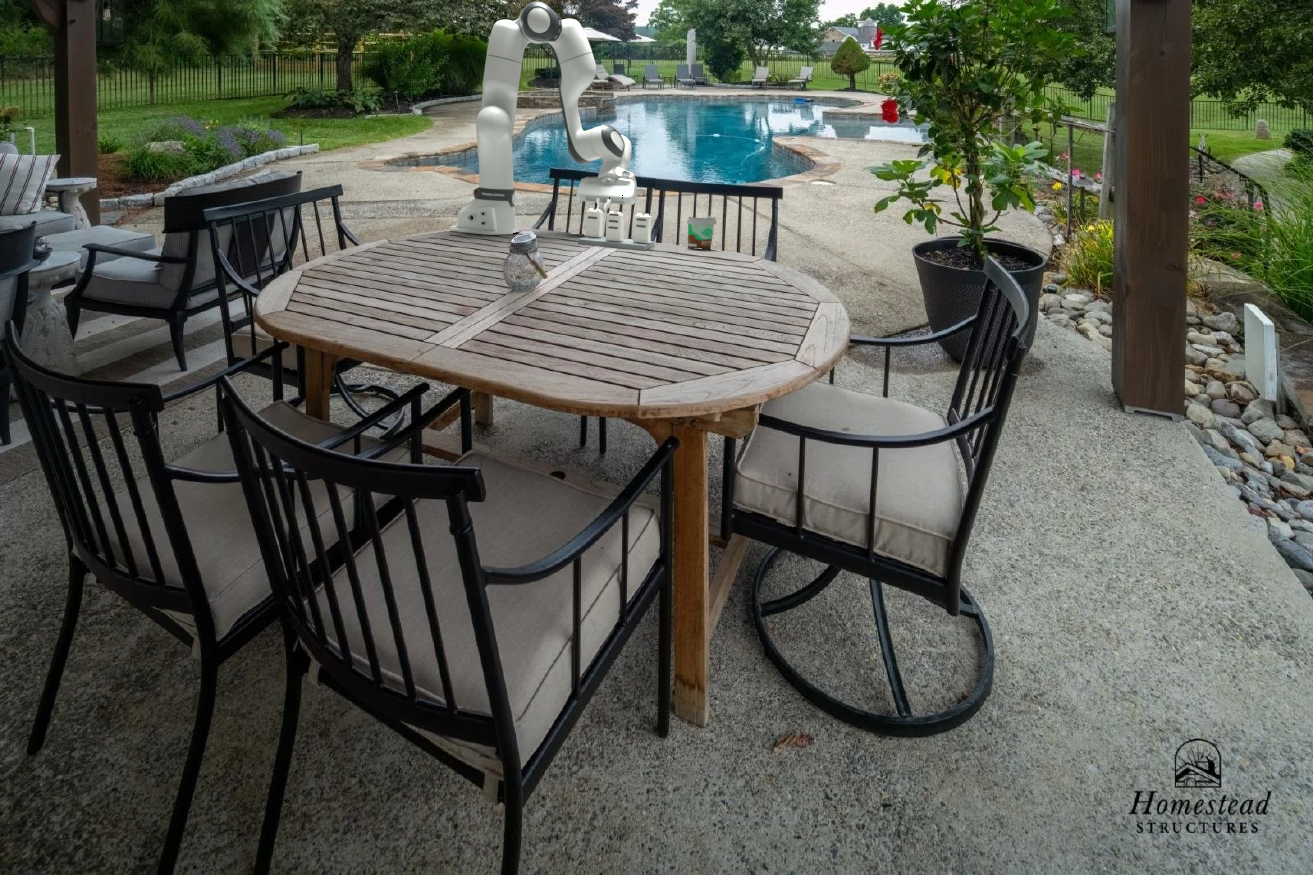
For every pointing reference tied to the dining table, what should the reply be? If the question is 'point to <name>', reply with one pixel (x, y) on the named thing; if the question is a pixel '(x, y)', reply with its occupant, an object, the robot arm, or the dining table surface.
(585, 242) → the tile board
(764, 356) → the dining table surface
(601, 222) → the tile one
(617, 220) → the tile three
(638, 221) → the tile two
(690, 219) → the food container
